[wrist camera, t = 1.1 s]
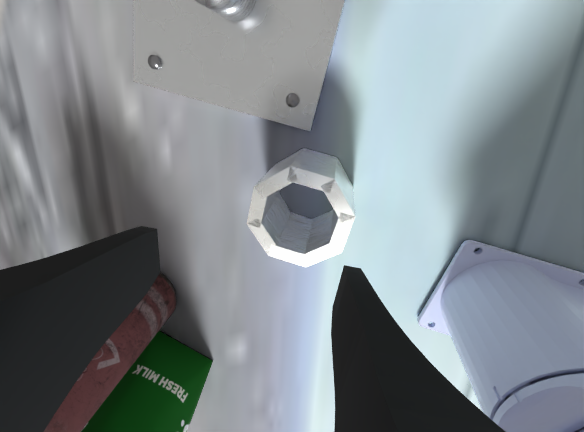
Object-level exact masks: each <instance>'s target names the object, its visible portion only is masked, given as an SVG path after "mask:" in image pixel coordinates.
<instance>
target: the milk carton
mask: <svg viewBox="0 0 584 432" xmlns="http://www.w3.org/2000/svg"><path fill="white" fill-rule="evenodd" d="M212 362H213V361H212V360H210V359H209V358H207V357H205V356H203V355H202V354H200V353H198V352H196V351H194V350H193V349H191V348H189V347H187V346H185V345H184V344H182V343H180V342H178V341H176V340H175V339H173V338H171V337H169V336H168V335H166V334H164V333H162V332H160V331H158V332H157V334H156V335H155V336H154V338H153V339H152V340H151V342H150V343H149V344H148V345H147V347H146V348H145V349H144V351H143V352H142V353H141V354H140V356H139V357H138V358H137V360H136V361H135V362H134V363H133V365H132V366H131V367H130V369H129V370H128V371H127V372H126V374H125V375H124V376H123V378H122V379H121V380H120V381H119V383H118V384H117V385H116V387H115V388H114V389H113V391H112V392H111V393H110V394H109V396H108V397H107V398H106V400H105V401H104V402H103V403H102V405H101V406H100V407H99V409H98V410H97V411H96V412H95V414H94V415H93V416H92V418H91V419H90V420H89V421H88V423H87V424H86V425H85V427H84V428H83V429H82V430H81V432H186V431H187V429H188V426H189V424H190V422H191V419H192V417H193V414H194V411H195V409H196V406H197V403H198V400H199V398H200V395H201V392H202V389H203V387H204V384H205V381H206V378H207V376H208V373H209V370H210V367H211V365H212Z"/></svg>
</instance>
